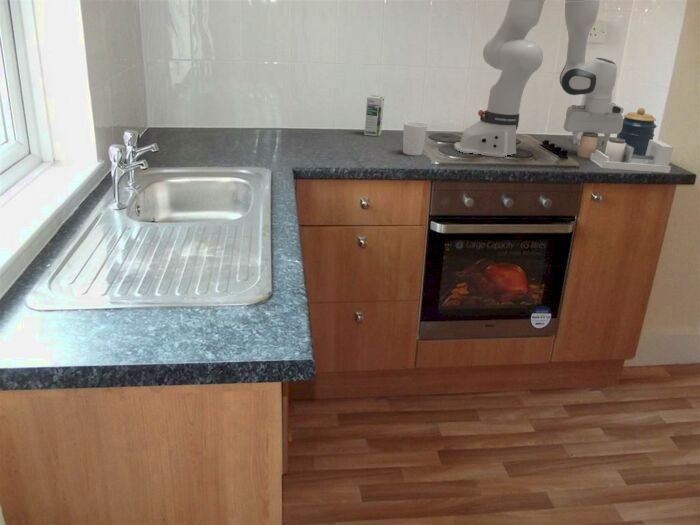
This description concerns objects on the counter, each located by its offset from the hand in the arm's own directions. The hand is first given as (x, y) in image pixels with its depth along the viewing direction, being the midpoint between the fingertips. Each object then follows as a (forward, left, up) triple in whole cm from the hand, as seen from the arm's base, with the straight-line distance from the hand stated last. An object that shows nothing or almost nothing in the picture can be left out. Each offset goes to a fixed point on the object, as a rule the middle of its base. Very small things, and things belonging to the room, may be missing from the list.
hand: (589, 144), depth 233 cm
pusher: (+13, -12, -4) cm, 18 cm away
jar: (-1, -1, -5) cm, 5 cm away
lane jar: (+5, -12, -4) cm, 13 cm away
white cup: (-65, -14, -5) cm, 67 cm away
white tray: (+11, -12, -5) cm, 17 cm away
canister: (+20, +10, -5) cm, 23 cm away
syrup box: (-79, +12, -5) cm, 80 cm away
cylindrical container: (+6, +24, -5) cm, 26 cm away
